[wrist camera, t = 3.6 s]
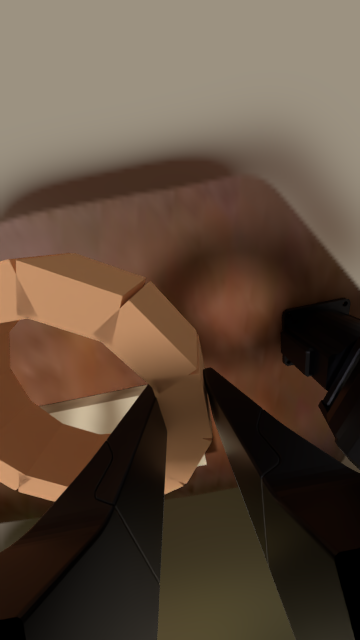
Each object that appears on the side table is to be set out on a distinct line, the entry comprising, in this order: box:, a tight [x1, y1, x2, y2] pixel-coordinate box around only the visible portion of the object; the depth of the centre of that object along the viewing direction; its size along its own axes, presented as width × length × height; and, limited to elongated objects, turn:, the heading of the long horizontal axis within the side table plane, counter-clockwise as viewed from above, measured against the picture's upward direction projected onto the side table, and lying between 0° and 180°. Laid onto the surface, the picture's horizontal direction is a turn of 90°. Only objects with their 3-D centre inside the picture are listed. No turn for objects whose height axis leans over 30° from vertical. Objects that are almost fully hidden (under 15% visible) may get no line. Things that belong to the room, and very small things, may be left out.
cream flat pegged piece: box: [39, 385, 207, 466], centre depth 21 cm, size 19×13×8 cm
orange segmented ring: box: [0, 253, 213, 501], centre depth 10 cm, size 13×13×3 cm
